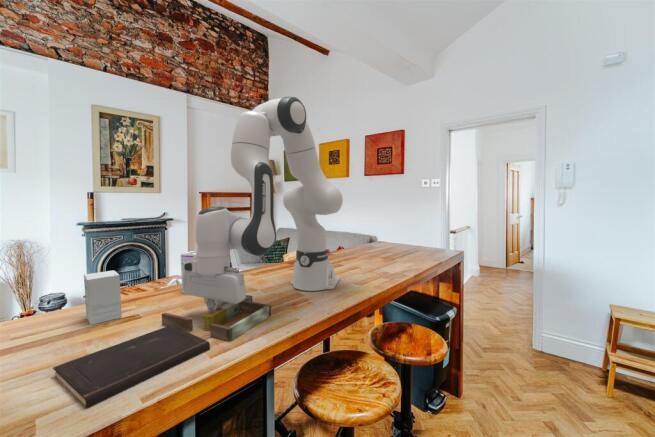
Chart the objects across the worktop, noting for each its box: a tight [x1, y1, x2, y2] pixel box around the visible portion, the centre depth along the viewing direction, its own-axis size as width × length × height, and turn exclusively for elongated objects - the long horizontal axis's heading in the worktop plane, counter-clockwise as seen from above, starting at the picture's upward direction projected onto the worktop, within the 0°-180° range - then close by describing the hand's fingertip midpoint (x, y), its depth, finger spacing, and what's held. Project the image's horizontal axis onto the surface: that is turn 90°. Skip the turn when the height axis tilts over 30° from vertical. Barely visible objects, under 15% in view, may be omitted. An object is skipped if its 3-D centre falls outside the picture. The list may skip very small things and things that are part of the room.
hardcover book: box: [52, 325, 211, 409], centre depth 62 cm, size 16×23×2 cm
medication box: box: [203, 303, 242, 331], centre depth 83 cm, size 12×3×4 cm, turn 159°
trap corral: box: [161, 294, 272, 343], centre depth 86 cm, size 22×23×3 cm
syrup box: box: [180, 250, 197, 294], centre depth 108 cm, size 6×6×14 cm
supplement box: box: [83, 270, 123, 326], centre depth 84 cm, size 7×7×13 cm
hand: (214, 313), depth 84 cm, fingers closed
